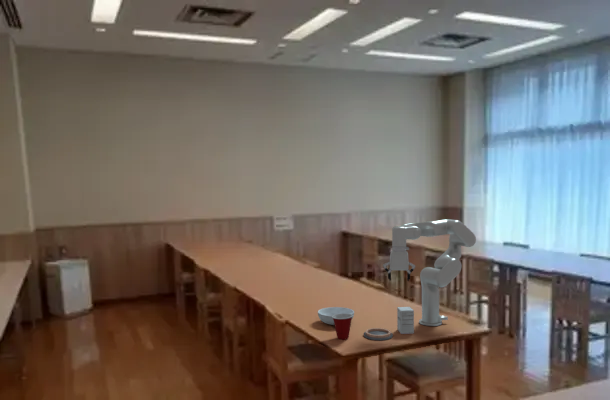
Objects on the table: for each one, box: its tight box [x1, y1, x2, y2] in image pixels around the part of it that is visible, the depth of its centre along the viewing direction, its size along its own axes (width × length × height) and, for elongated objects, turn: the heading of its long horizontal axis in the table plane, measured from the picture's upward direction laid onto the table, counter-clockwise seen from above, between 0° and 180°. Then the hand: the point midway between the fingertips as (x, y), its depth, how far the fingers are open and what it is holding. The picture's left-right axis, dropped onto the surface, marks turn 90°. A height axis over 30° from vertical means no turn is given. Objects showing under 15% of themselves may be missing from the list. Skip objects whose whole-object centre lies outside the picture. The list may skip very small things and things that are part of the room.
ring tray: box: [363, 327, 394, 342], centre depth 269 cm, size 15×15×2 cm
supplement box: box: [396, 306, 415, 335], centre depth 275 cm, size 7×7×13 cm
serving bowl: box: [317, 306, 355, 326], centre depth 293 cm, size 21×21×7 cm
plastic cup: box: [332, 314, 354, 341], centre depth 266 cm, size 11×11×12 cm
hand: (399, 280), depth 280 cm, fingers open, 9 cm apart
